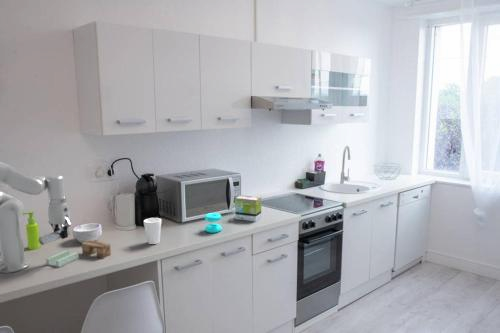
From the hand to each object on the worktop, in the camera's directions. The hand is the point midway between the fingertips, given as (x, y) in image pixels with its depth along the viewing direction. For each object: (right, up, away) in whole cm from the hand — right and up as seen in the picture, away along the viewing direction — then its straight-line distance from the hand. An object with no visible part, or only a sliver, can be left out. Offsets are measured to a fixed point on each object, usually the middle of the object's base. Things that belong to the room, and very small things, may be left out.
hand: (61, 237), depth 193 cm
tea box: (+91, 0, +69) cm, 114 cm away
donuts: (+70, -5, +45) cm, 84 cm away
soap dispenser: (-25, -10, +21) cm, 35 cm away
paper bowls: (0, -8, +32) cm, 33 cm away
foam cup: (+39, -8, +26) cm, 48 cm away
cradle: (0, -12, +2) cm, 13 cm away
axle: (-2, -1, -3) cm, 4 cm away
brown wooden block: (+13, -11, +10) cm, 20 cm away
